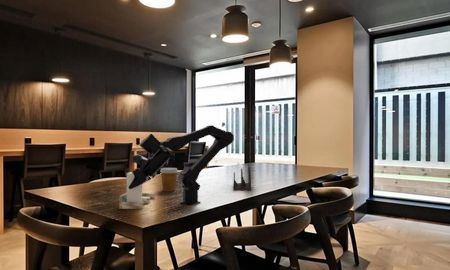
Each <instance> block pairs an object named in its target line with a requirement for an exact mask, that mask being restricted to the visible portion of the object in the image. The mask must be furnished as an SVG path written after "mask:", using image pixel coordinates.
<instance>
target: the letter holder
mask: <svg viewBox="0 0 450 270" xmlns="http://www.w3.org/2000/svg"><path fill="white" fill-rule="evenodd" d="M243 171H244V170H243V168H242V167H241V168H240V182H237V181H236V173H235V172H233V184H232V185H233V191H245V190H247V191H248V192H249V191H252V174H251V173H252V171H251V164H250V163H248V164H247V175H248V176H247V178H248V180H247V183H246V180H245V178H244V173H243Z"/></svg>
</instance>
